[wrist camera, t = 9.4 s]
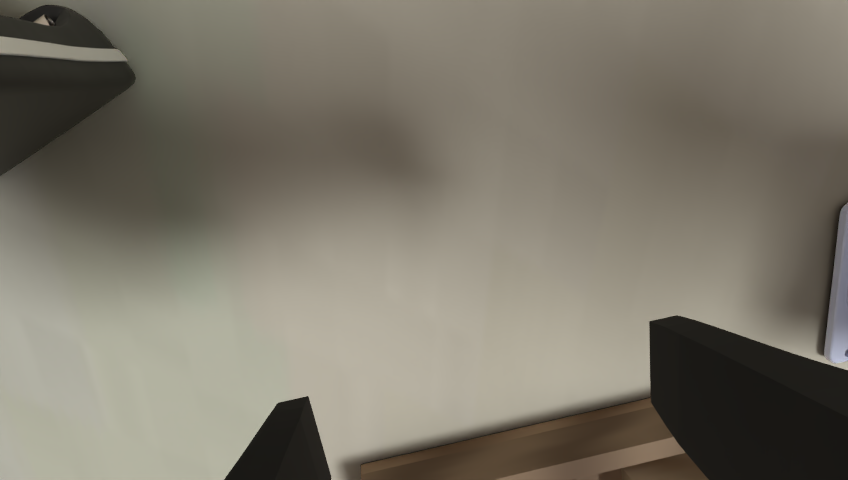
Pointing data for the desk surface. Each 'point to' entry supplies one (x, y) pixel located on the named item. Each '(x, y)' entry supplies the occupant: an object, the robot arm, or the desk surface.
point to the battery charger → (52, 78)
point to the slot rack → (544, 450)
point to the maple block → (665, 469)
